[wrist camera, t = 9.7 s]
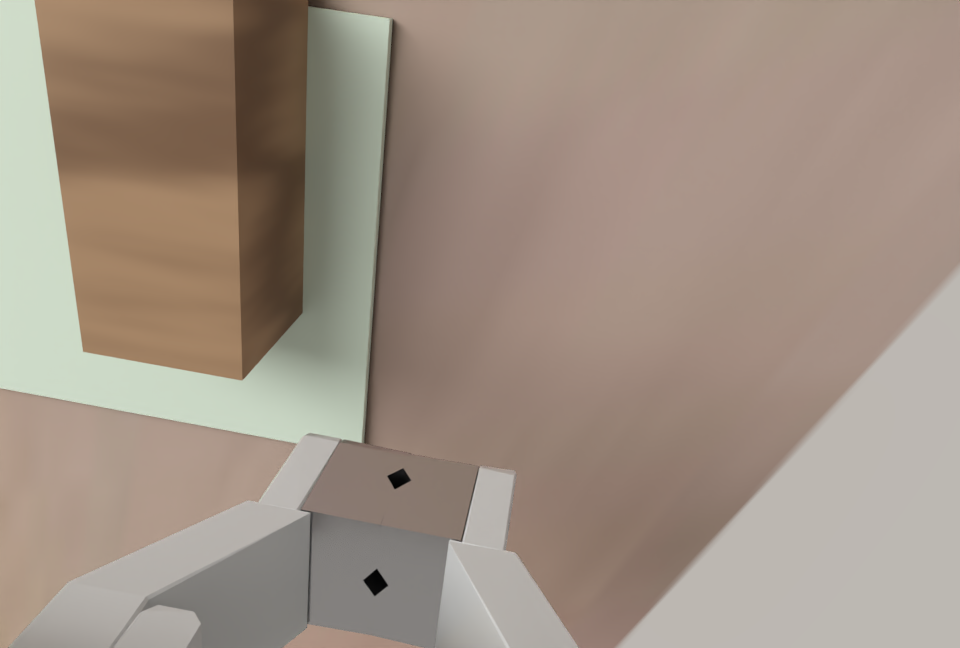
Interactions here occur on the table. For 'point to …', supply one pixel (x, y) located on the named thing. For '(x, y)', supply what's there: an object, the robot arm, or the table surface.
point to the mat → (326, 267)
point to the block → (181, 173)
